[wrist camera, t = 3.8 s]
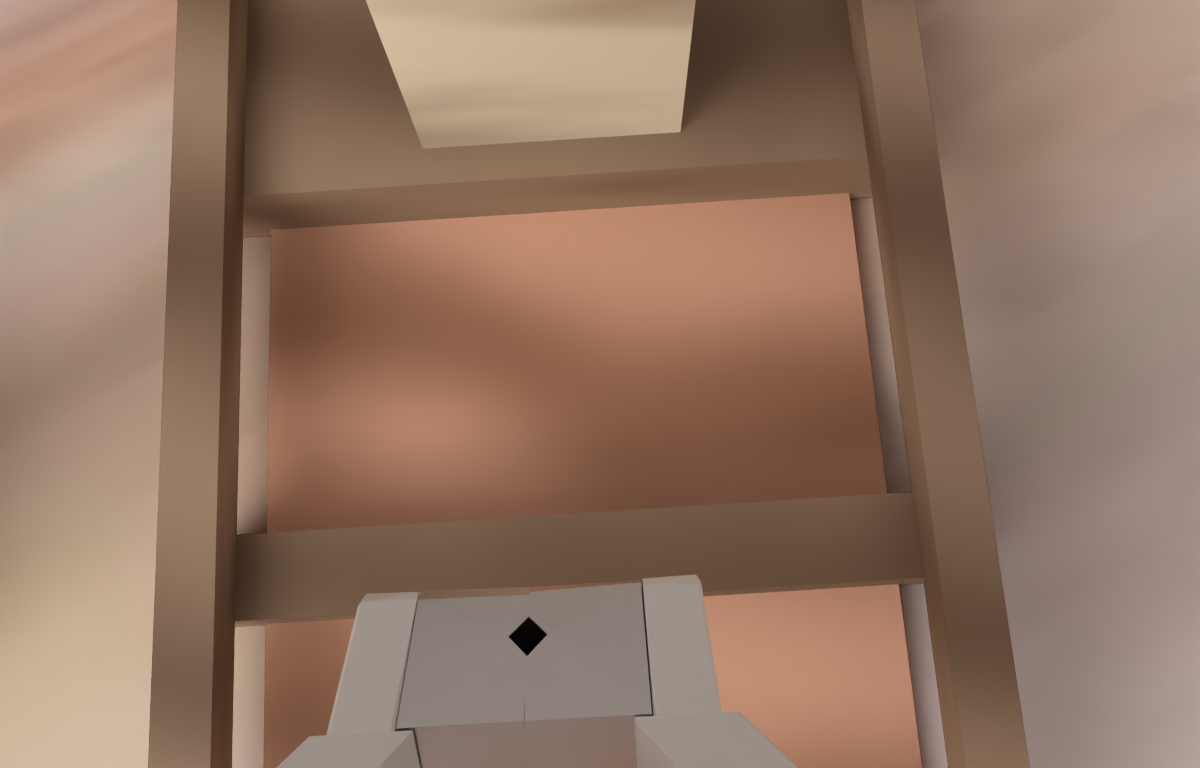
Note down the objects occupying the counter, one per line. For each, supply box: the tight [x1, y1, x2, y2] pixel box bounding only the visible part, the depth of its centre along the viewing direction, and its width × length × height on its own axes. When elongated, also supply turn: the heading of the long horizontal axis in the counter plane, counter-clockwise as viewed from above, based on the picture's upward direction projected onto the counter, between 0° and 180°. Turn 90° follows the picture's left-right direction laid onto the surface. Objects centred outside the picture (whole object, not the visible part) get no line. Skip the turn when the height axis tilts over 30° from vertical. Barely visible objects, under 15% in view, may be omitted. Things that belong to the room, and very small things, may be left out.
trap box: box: [148, 0, 1030, 768], centre depth 20 cm, size 30×14×6 cm, turn 4°
